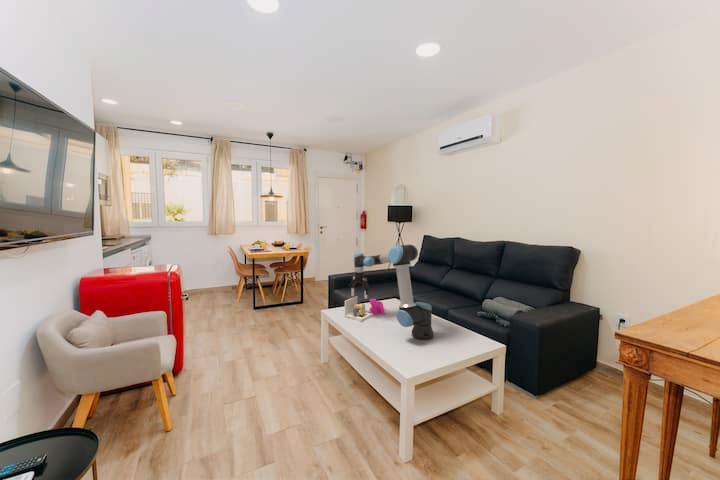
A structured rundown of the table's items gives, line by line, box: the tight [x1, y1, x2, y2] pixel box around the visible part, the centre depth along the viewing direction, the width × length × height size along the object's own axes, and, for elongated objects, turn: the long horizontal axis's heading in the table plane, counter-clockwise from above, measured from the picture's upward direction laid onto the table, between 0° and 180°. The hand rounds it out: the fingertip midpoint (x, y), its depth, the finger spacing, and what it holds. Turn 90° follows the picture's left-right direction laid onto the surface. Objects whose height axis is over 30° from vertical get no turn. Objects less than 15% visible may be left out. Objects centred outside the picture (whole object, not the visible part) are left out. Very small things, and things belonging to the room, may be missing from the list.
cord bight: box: [354, 303, 366, 316], centre depth 240 cm, size 8×4×7 cm, turn 53°
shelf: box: [344, 296, 374, 323], centre depth 241 cm, size 17×16×14 cm
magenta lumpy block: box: [369, 298, 386, 316], centre depth 252 cm, size 12×10×10 cm
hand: (359, 297), depth 239 cm, fingers open, 13 cm apart
